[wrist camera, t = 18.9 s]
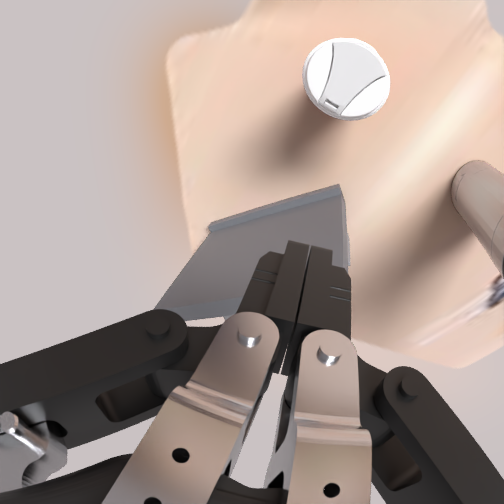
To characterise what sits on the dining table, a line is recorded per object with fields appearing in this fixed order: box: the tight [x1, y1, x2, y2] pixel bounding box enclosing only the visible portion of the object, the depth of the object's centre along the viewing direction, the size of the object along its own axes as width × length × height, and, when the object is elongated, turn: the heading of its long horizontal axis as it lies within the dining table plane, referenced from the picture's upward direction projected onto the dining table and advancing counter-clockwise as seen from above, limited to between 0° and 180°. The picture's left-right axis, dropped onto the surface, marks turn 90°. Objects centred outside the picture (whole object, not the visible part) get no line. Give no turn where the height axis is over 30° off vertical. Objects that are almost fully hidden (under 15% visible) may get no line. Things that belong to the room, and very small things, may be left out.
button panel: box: [154, 184, 350, 321], centre depth 36 cm, size 6×21×20 cm, turn 114°
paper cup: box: [302, 38, 390, 121], centre depth 25 cm, size 8×8×14 cm
